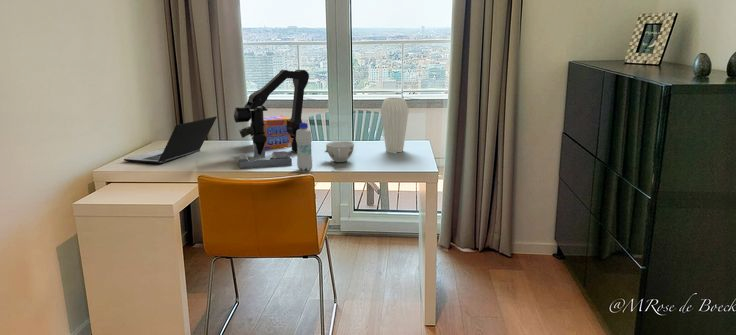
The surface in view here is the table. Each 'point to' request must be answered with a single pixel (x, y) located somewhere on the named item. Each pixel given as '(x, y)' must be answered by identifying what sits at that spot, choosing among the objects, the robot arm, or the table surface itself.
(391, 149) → the vase
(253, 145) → the block
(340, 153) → the teacup
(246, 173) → the table surface
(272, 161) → the vise
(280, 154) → the panel
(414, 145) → the table surface
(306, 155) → the bottle
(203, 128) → the laptop
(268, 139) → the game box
